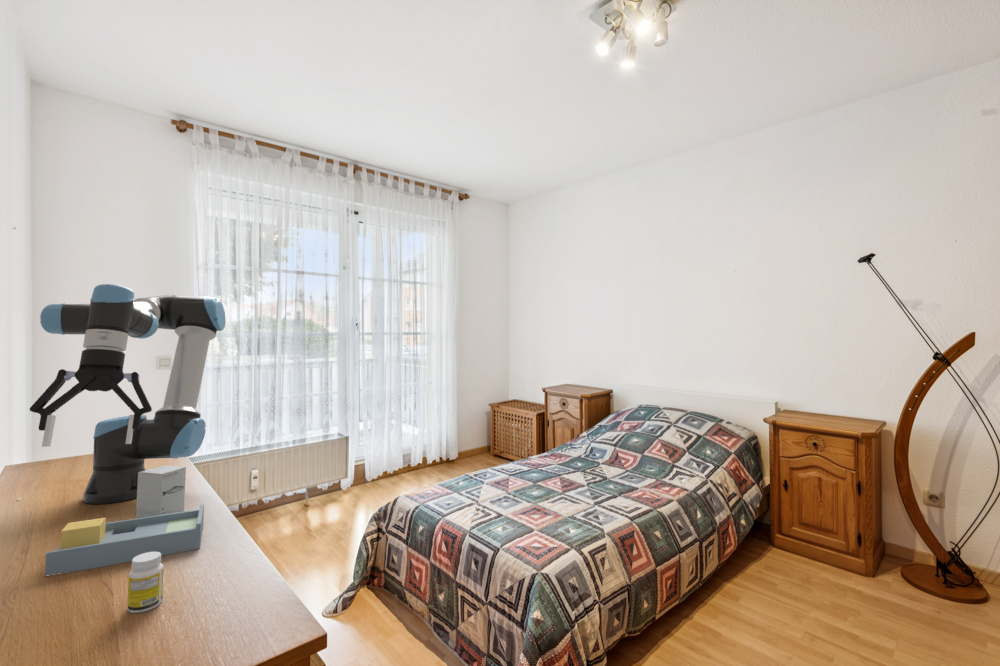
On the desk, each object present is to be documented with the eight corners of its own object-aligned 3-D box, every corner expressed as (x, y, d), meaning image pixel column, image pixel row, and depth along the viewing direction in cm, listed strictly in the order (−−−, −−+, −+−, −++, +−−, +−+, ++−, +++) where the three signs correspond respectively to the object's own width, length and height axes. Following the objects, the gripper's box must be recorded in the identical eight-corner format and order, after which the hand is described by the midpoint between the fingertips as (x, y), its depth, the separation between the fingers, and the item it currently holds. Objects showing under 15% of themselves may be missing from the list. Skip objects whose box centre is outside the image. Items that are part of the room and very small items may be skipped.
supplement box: (158, 524, 111) (160, 473, 112) (134, 522, 113) (136, 471, 113) (185, 514, 118) (186, 466, 119) (162, 511, 120) (164, 464, 120)
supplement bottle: (140, 598, 79) (142, 550, 79) (168, 597, 79) (170, 549, 80) (119, 614, 74) (122, 563, 74) (149, 613, 75) (151, 562, 75)
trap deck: (67, 549, 97) (68, 523, 97) (203, 526, 110) (204, 504, 110) (44, 577, 86) (46, 548, 86) (199, 548, 98) (200, 523, 99)
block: (67, 541, 94) (68, 522, 94) (105, 536, 97) (105, 517, 97) (60, 551, 90) (61, 531, 90) (99, 544, 93) (100, 525, 93)
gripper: (22, 343, 93) (0, 447, 88) (170, 351, 106) (157, 442, 102) (34, 349, 99) (14, 447, 95) (172, 356, 113) (160, 442, 108)
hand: (88, 445), depth 98 cm, fingers open, 13 cm apart
